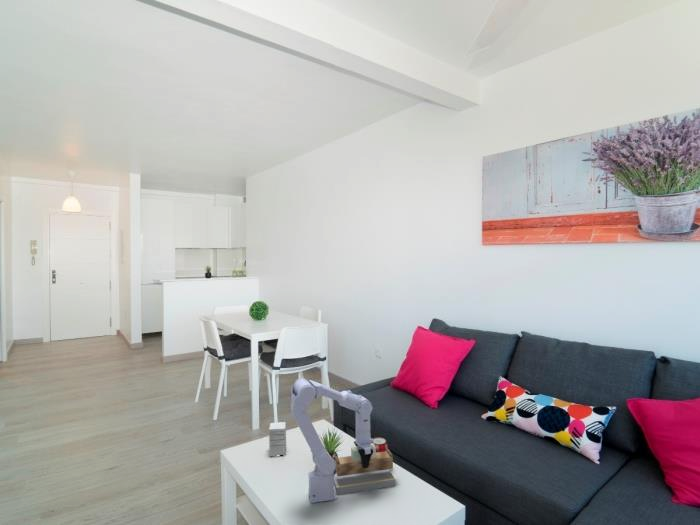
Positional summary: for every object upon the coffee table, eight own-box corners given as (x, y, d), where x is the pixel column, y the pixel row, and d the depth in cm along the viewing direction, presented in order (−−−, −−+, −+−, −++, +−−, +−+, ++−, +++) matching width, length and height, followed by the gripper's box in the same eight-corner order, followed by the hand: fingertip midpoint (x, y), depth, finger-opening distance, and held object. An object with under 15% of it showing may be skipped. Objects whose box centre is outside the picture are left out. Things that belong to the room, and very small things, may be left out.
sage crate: (353, 462, 145) (353, 451, 145) (351, 457, 149) (351, 446, 149) (363, 460, 146) (363, 450, 146) (361, 455, 150) (360, 445, 150)
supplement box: (270, 449, 178) (270, 422, 178) (286, 448, 179) (286, 421, 179) (269, 457, 170) (268, 429, 170) (285, 456, 171) (285, 428, 171)
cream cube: (365, 459, 147) (365, 449, 147) (363, 454, 151) (363, 444, 151) (376, 458, 147) (375, 447, 147) (373, 453, 151) (373, 443, 151)
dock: (336, 494, 142) (336, 487, 142) (333, 482, 150) (333, 476, 150) (395, 486, 147) (395, 479, 147) (388, 474, 154) (388, 468, 154)
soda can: (387, 474, 155) (386, 445, 155) (369, 473, 156) (369, 443, 156) (388, 465, 162) (388, 437, 162) (372, 464, 163) (371, 436, 163)
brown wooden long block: (337, 476, 143) (337, 462, 143) (335, 469, 148) (334, 456, 148) (393, 468, 148) (392, 454, 148) (389, 462, 153) (388, 448, 153)
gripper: (378, 435, 142) (378, 472, 142) (368, 420, 156) (368, 453, 156) (359, 437, 140) (360, 474, 140) (351, 422, 155) (351, 455, 155)
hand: (363, 463), depth 148 cm, fingers closed on brown wooden long block, 5 cm apart
